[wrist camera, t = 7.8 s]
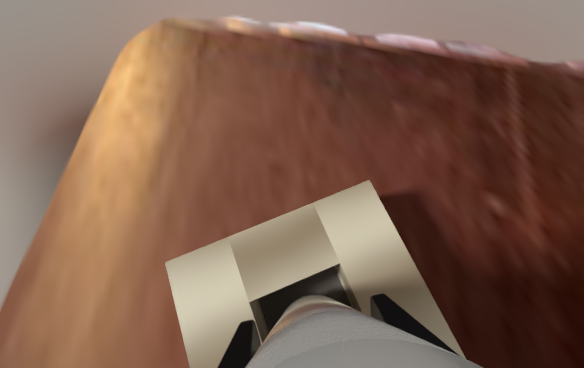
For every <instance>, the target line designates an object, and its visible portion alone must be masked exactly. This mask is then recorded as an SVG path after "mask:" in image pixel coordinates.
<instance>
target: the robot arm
mask: <svg viewBox="0 0 584 368" xmlns="http://www.w3.org/2000/svg"><path fill="white" fill-rule="evenodd" d="M370 306H371V317H373V318H376V319H378V320H380V321H382V322H385V323H387V324H389V325H391V326H394V327H396V328H398V329H400V330H402V331H405V332H407V333H409V334H411V335H414V336H416V337H418V338H420V339H423V340H425V341H427V342H429V343H432V344H434V345H436V346H438V347H441V348H443V349H445V350H447V351H449V352H452V353H454V354H456V355H458V354H457V353H456V352H455V351H454V350H452V349H451V348H450V347H449V346H447V345H446V344H445V343H444V342H443V341H441V340H440V339H439V338H438V337H437V336H435V335H434V334H433V333H432V332H430V331H429V330H428V329H427V328H426V327H424V326H423V325H422V324H421V323H420V322H418V321H417V320H416V319H415V318H414V317H412V316H411V315H410V314H409V313H407V312H406V311H405V310H404V309H403V308H401V307H400V306H399V305H398V304H397V303H395V302H394V301H393V300H392V299H390V298H389V297H388V296H387V295H386V294H384V293H378V294H373V295H371V297H370ZM260 346H261V342H260V337H259V333H258V330H257V327H256V324H255V321H254V320H252V319H251V320H246V321H242V322H241V323H240V324H239V326H238V328H237V330H236V332H235V334H234V336H233V338H232V340H231V342H230V344H229V346H228V347H227V349H226V351H225V353H224V355H223V357H222V359H221V361H220V363H219V365H218V367H217V368H245V367H246V366H247V364H248V363H249V362H250V360H251V359H252V357H253V356H254V354H255V353H256V352H257V350H258V349H259V347H260ZM458 356H460V355H458Z"/></svg>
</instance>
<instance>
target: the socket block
mask: <svg viewBox="0 0 584 368" xmlns="http://www.w3.org/2000/svg"><path fill="white" fill-rule="evenodd" d="M165 264H166V268H167V272H168V277H169V281H170V285H171V289H172V294H173V298H174V302H175V306H176V310H177V315H178V319H179V323H180V327H181V332H182V336H183V340H184V344H185V348H186V353H187V357H188V361H189V365H190V368H217V367H218V365H219V363H220V361H221V359H222V357H223V355H224V353H225V351H226V349H227V347H228V346H229V344H230V342H231V340H232V338H233V336H234V334H235V332H236V330H237V328H238V326H239V324H240V323H241V322H242V321H246V320H251V319H252V320H254V321H255V324H256V327H257V330H258V333H259V337H260V342H261V344H262V343H263V342H264V340H265V339H266V337H267V336H268V334H269V333H270V332H271V330H272V329H273V327H274V326H275V325H276V323H277V322H278V320H279V319H280V317H281V316H282V315H283V313H284V312H285V310H286V309H287V308H288V306H289V305H290V304H291V303H292V302H293V301H294V300H295V299H297V298H299V297H301V296H303V295H306V294H321V295H324V296H326V297H329V298H331V299H333V300H335V301H338V302H340V303H342V304H344V305H347V306H349V307H351V308H353V309H356V310H358V311H360V312H362V313H364V314H367V315H369V316H371V306H370V297H371V295H373V294H378V293H384V294H386V295H387V296H388V297H389V298H390V299H392V300H393V301H394V302H395V303H397V304H398V305H399V306H400V307H401V308H403V309H404V310H405V311H406V312H407V313H409V314H410V315H411V316H412V317H414V318H415V319H416V320H417V321H418V322H420V323H421V324H422V325H423V326H424V327H426V328H427V329H428V330H429V331H430V332H432V333H433V334H434V335H435V336H437V337H438V338H439V339H440V340H441V341H443V342H444V343H445V344H446V345H447V346H449V347H450V348H451V349H452V350H454V351H455V352H456V353H457V354H458V355H460V356H461V357H463V358H465V356H464V354H463V352H462V350H461V349H460V347H459V345H458V343H457V341H456V339H455V337H454V336H453V334H452V332H451V330H450V328H449V326H448V324H447V323H446V321H445V319H444V317H443V315H442V313H441V312H440V310H439V308H438V306H437V304H436V302H435V300H434V299H433V297H432V295H431V293H430V291H429V289H428V287H427V286H426V284H425V282H424V280H423V278H422V276H421V275H420V273H419V271H418V269H417V267H416V265H415V263H414V262H413V260H412V258H411V256H410V254H409V252H408V250H407V249H406V247H405V245H404V243H403V241H402V239H401V238H400V236H399V234H398V232H397V230H396V228H395V226H394V225H393V223H392V221H391V219H390V217H389V215H388V213H387V212H386V210H385V208H384V206H383V204H382V202H381V201H380V199H379V197H378V195H377V193H376V191H375V189H374V188H373V186H372V184H371V182H370V180H368V181H366V182H363V183H361V184H358V185H356V186H353V187H351V188H348V189H346V190H343V191H341V192H338V193H336V194H334V195H331V196H329V197H326V198H324V199H321V200H319V201H316V202H314V203H311V204H309V205H306V206H304V207H301V208H299V209H296V210H294V211H291V212H289V213H286V214H284V215H282V216H279V217H277V218H274V219H272V220H269V221H267V222H264V223H262V224H259V225H257V226H254V227H252V228H249V229H247V230H244V231H242V232H239V233H237V234H234V235H232V236H230V237H227V238H225V239H222V240H220V241H217V242H215V243H212V244H210V245H207V246H205V247H202V248H200V249H197V250H195V251H192V252H190V253H187V254H185V255H182V256H180V257H178V258H175V259H173V260H170V261H168V262H165ZM465 359H466V358H465Z"/></svg>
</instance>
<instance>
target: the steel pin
mask: <svg viewBox="0 0 584 368" xmlns="http://www.w3.org/2000/svg"><path fill="white" fill-rule="evenodd" d="M245 368H483V367H481V366H479V365H477V364H475V363H473V362H471V361H469V360H467V359H465V358H463V357H461V356H458V355H456V354H454V353H452V352H449V351H447V350H445V349H443V348H441V347H438V346H436V345H434V344H432V343H429V342H427V341H425V340H423V339H420V338H418V337H416V336H414V335H411V334H409V333H407V332H405V331H402V330H400V329H398V328H396V327H394V326H391V325H389V324H387V323H385V322H382V321H380V320H378V319H376V318H373V317H371V316H369V315H367V314H364V313H362V312H360V311H358V310H356V309H353V308H351V307H349V306H347V305H344V304H342V303H340V302H338V301H335V300H333V299H331V298H329V297H326V296H324V295H321V294H306V295H303V296H301V297H299V298H297V299H295V300H294V301H293V302H292V303H291V304H290V305H289V306H288V308H287V309H286V310H285V312H284V313H283V315H282V316H281V317H280V319H279V320H278V322H277V323H276V325H275V326H274V327H273V329H272V330H271V332H270V333H269V334H268V336H267V337H266V339H265V340H264V342H263V343H262V344H261V346H260V347H259V349H258V350H257V352H256V353H255V354H254V356H253V357H252V359H251V360H250V362H249V363H248V364H247V366H246V367H245Z"/></svg>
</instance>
